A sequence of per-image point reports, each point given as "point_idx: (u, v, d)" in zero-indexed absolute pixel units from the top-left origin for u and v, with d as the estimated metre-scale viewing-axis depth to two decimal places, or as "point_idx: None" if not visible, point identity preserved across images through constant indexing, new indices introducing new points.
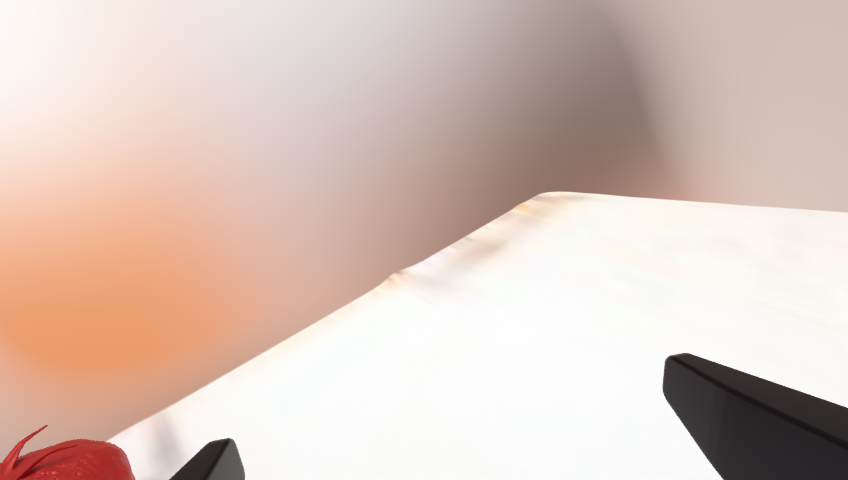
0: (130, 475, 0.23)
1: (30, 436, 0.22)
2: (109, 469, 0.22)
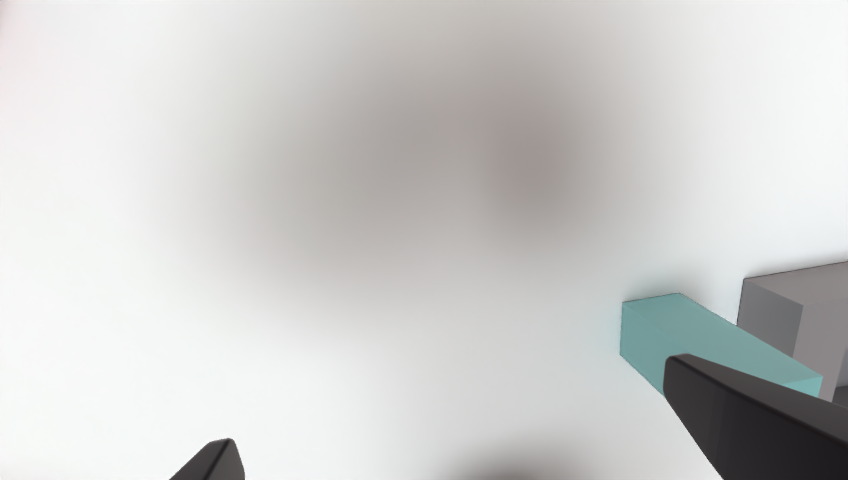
0: None
1: None
2: None
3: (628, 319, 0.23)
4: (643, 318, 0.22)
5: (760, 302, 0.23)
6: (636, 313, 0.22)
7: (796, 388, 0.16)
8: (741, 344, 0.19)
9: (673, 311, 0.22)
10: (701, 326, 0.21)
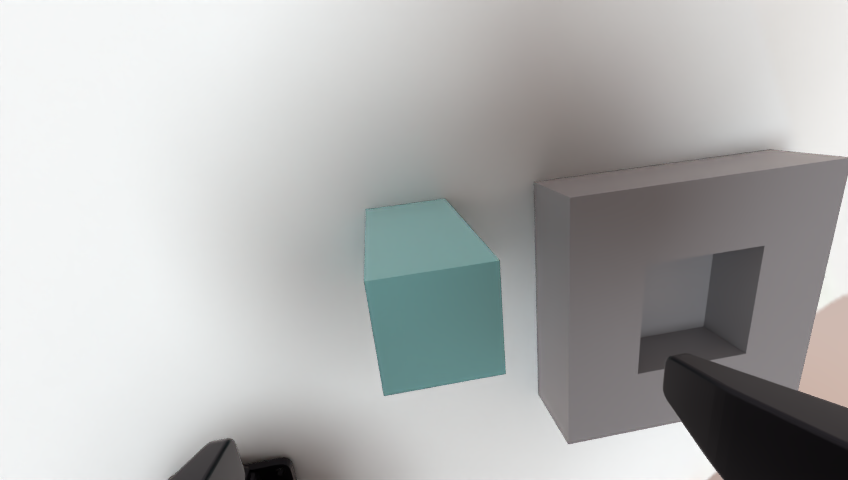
0: None
1: None
2: None
3: None
4: (365, 221, 0.16)
5: (545, 208, 0.18)
6: (366, 217, 0.17)
7: (459, 279, 0.11)
8: (442, 236, 0.13)
9: (412, 212, 0.16)
10: (421, 223, 0.15)
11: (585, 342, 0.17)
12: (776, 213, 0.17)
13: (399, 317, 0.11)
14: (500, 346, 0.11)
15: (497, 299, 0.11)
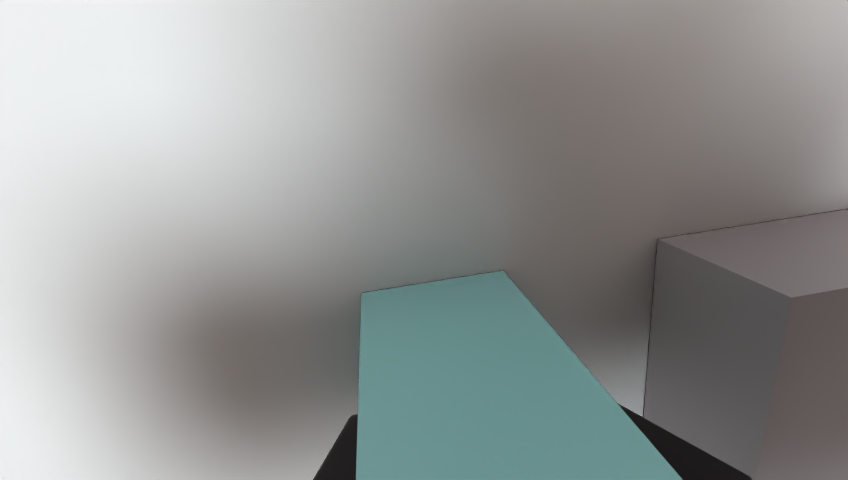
0: None
1: None
2: None
3: None
4: None
5: (689, 292, 0.10)
6: (361, 320, 0.09)
7: None
8: (556, 439, 0.05)
9: (451, 313, 0.08)
10: (481, 360, 0.07)
11: None
12: None
13: None
14: None
15: None
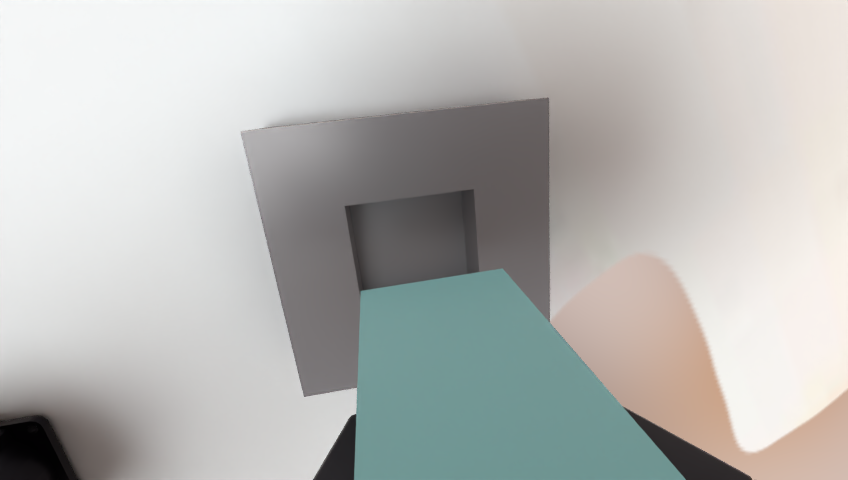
0: None
1: None
2: None
3: None
4: (359, 331, 0.08)
5: None
6: (360, 317, 0.09)
7: None
8: (556, 436, 0.05)
9: (450, 311, 0.08)
10: (480, 358, 0.07)
11: (296, 288, 0.17)
12: (478, 154, 0.16)
13: None
14: None
15: None
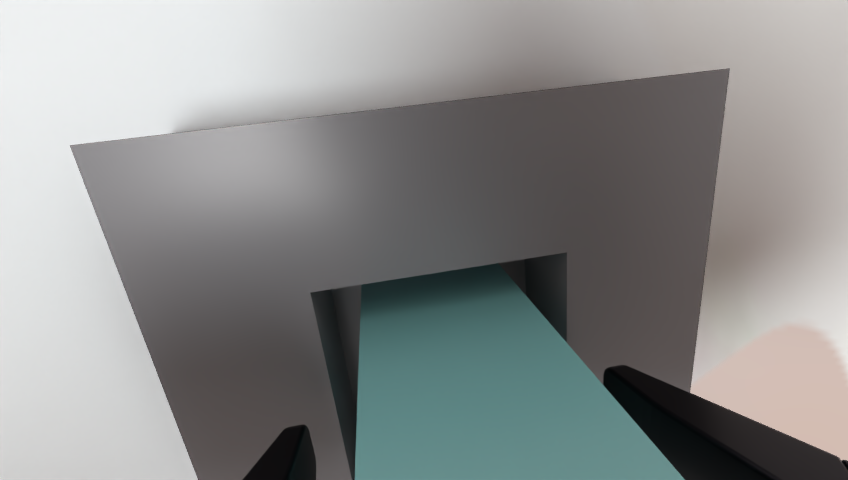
0: None
1: None
2: None
3: None
4: None
5: None
6: (361, 298, 0.10)
7: None
8: (528, 388, 0.06)
9: (443, 292, 0.09)
10: (467, 329, 0.08)
11: (222, 444, 0.09)
12: (579, 186, 0.08)
13: None
14: None
15: None
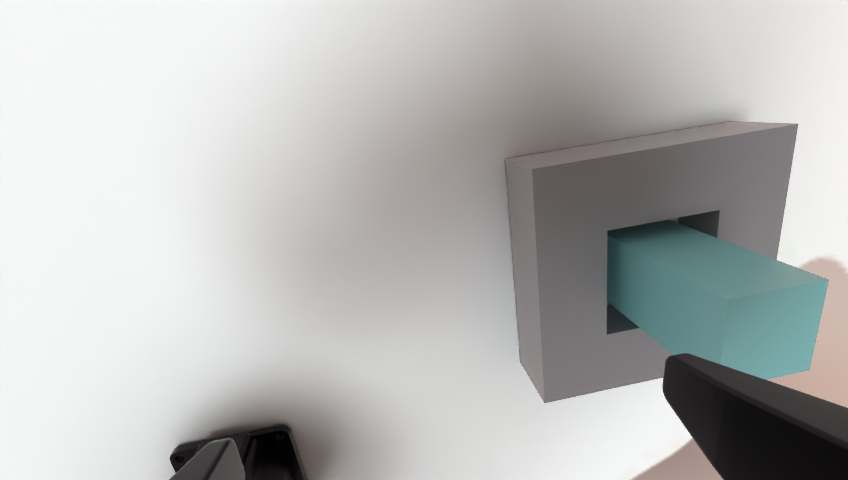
0: None
1: None
2: None
3: None
4: (617, 241, 0.19)
5: (514, 182, 0.19)
6: (610, 237, 0.19)
7: (795, 295, 0.13)
8: (729, 256, 0.16)
9: (653, 232, 0.19)
10: (683, 243, 0.17)
11: (555, 305, 0.19)
12: (728, 178, 0.18)
13: (745, 327, 0.13)
14: (811, 348, 0.14)
15: (819, 310, 0.14)
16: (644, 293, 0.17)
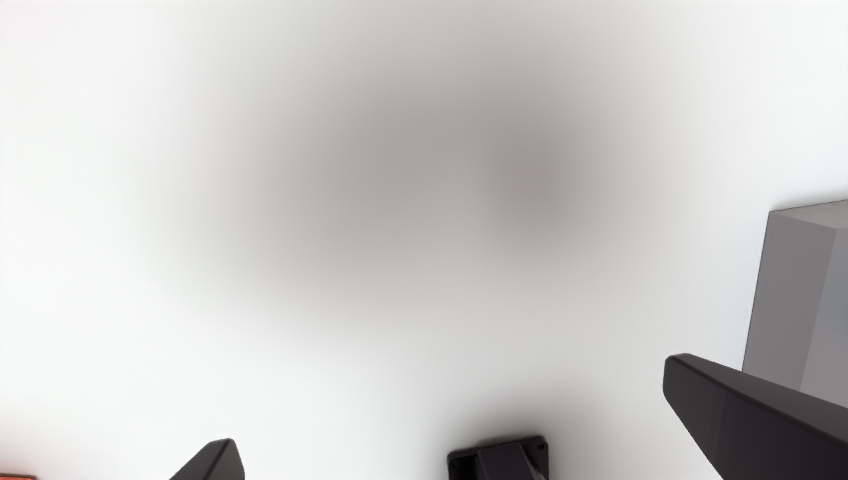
0: None
1: None
2: None
3: None
4: None
5: (787, 233, 0.22)
6: None
7: None
8: None
9: None
10: None
11: (823, 340, 0.22)
12: None
13: None
14: None
15: None
16: None
